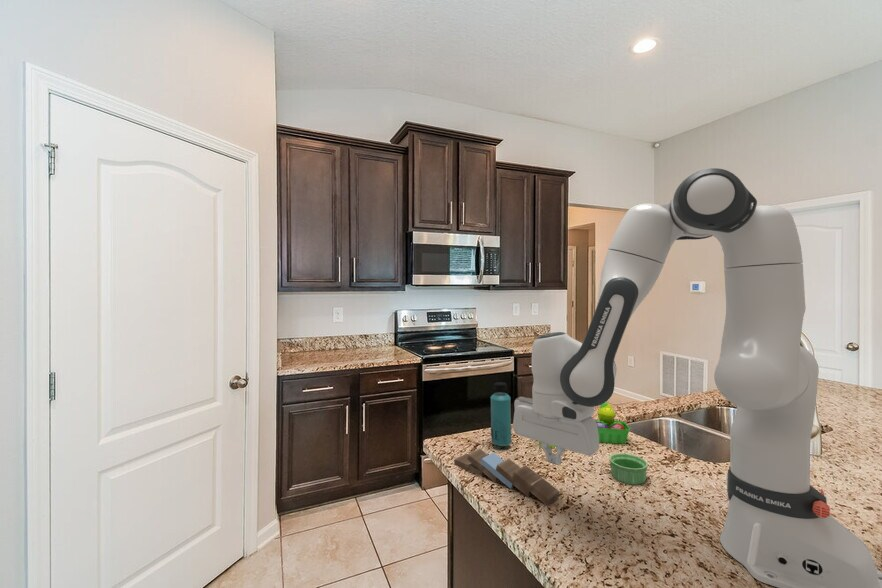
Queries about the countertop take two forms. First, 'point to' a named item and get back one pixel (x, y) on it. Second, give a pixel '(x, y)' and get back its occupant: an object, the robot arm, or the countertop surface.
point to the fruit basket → (610, 426)
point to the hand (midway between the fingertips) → (553, 462)
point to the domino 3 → (491, 464)
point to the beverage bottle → (500, 416)
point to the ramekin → (628, 468)
